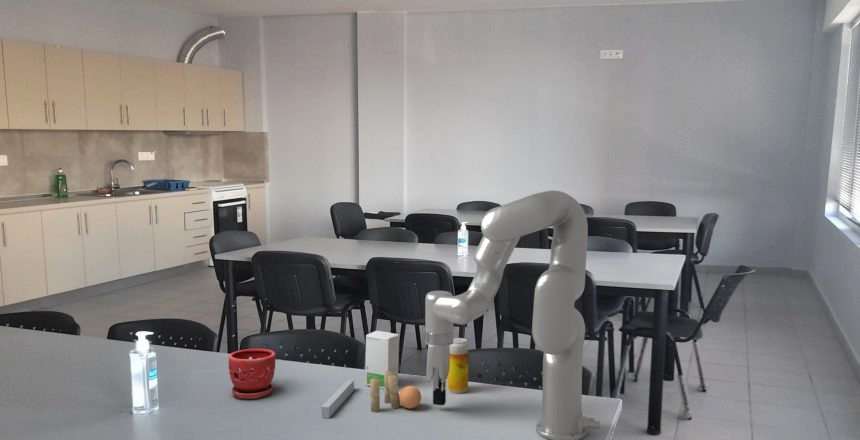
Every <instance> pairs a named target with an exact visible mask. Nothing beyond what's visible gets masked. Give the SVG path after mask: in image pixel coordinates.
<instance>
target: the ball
mask: <svg viewBox="0 0 860 440" xmlns="http://www.w3.org/2000/svg"><path fill="white" fill-rule="evenodd" d="M421 400H422V393H421V391H420V389H419V388H418V387H416V386H414V385H406V386H405V387H404V388H402V389H400V391H399V401H400V405H401V406H403V407H404V408H406V409H414V408H416V407H418V406H419V404H420V403H421Z"/></svg>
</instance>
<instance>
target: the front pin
mask: <svg viewBox="0 0 860 440" xmlns="http://www.w3.org/2000/svg"><path fill="white" fill-rule="evenodd" d="M388 383H389V391H390V400H391V403H390V406H391V407H390V408H392V409H397V408H400V407H401V403H400V400H399V395H400V392H399V386H398V384H399V383H398V384H397V376H396V375H390V376H388Z"/></svg>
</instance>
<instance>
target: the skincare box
mask: <svg viewBox="0 0 860 440" xmlns="http://www.w3.org/2000/svg"><path fill="white" fill-rule="evenodd" d="M399 353H400V334H398V333H392V332H388V331H382V330H375V331H373V332H370V333H367V334H366V335H365V375H364V376H365V377H364V378H365V380H364V381H365V382H364V384H365V386H367V387H371V385H370V380H371V379H374V378H377V379H379V389H382V390H385V384H384V372H385V371H393V375H396V376H397V384H399V365H400V364H399V363H400V362H399V361H400V360H399V359H400V358H399V357H400V356H399V355H400V354H399Z"/></svg>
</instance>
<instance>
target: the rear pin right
mask: <svg viewBox="0 0 860 440" xmlns="http://www.w3.org/2000/svg"><path fill="white" fill-rule="evenodd" d="M390 375H393V371H385V372H384V384H385V389H384V403H385V404H391V400H390V391H389V383H388V376H390Z"/></svg>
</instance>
